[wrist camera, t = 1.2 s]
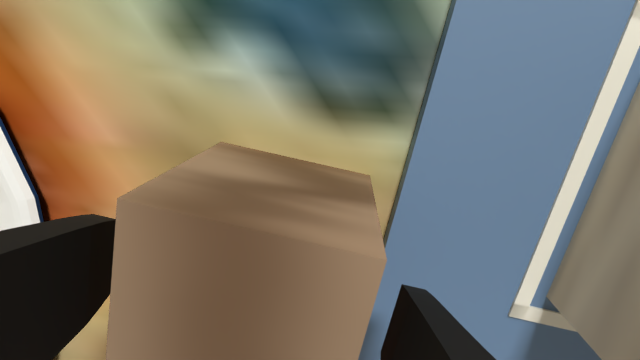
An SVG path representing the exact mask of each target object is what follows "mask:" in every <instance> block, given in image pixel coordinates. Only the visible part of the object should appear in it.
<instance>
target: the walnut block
mask: <svg viewBox="0 0 640 360" xmlns="http://www.w3.org/2000/svg"><path fill="white" fill-rule="evenodd" d="M386 262H387V258H386V253H385V248H384V243H383V238H382V233H381V228H380V223H379V218H378V213H377V208H376V203H375V199H374V194H373V189H372V184H371V179H370V175H365V174H361V173H356V172H352V171H348V170H343V169H339V168H334V167H330V166H325V165H321V164H317V163H312V162H308V161H303V160H299V159H294V158H290V157H286V156H281V155H277V154H272V153H268V152H263V151H259V150H255V149H250V148H246V147H241V146H237V145H232V144H228V143H224V142H220V143H218V144H216V145H214V146H213V147H211V148H209V149H207V150H205V151H203V152H202V153H200V154H198V155H196V156H194V157H192V158H191V159H189V160H187V161H185V162H183V163H181V164H180V165H178V166H176V167H174V168H172V169H170V170H169V171H167V172H165V173H163V174H161V175H159V176H158V177H156V178H154V179H152V180H150V181H148V182H147V183H145V184H143V185H141V186H139V187H137V188H136V189H134V190H132V191H130V192H128V193H126V194H125V195H123V196H121V197H119V198H117V209H116V223H115V237H114V251H113V265H112V279H111V293H110V307H109V321H108V335H107V349H106V360H358V358H359V355H360V351H361V348H362V344H363V341H364V337H365V334H366V331H367V327H368V324H369V320H370V317H371V313H372V310H373V307H374V303H375V300H376V296H377V293H378V289H379V286H380V283H381V279H382V276H383V272H384V269H385V265H386Z"/></svg>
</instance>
